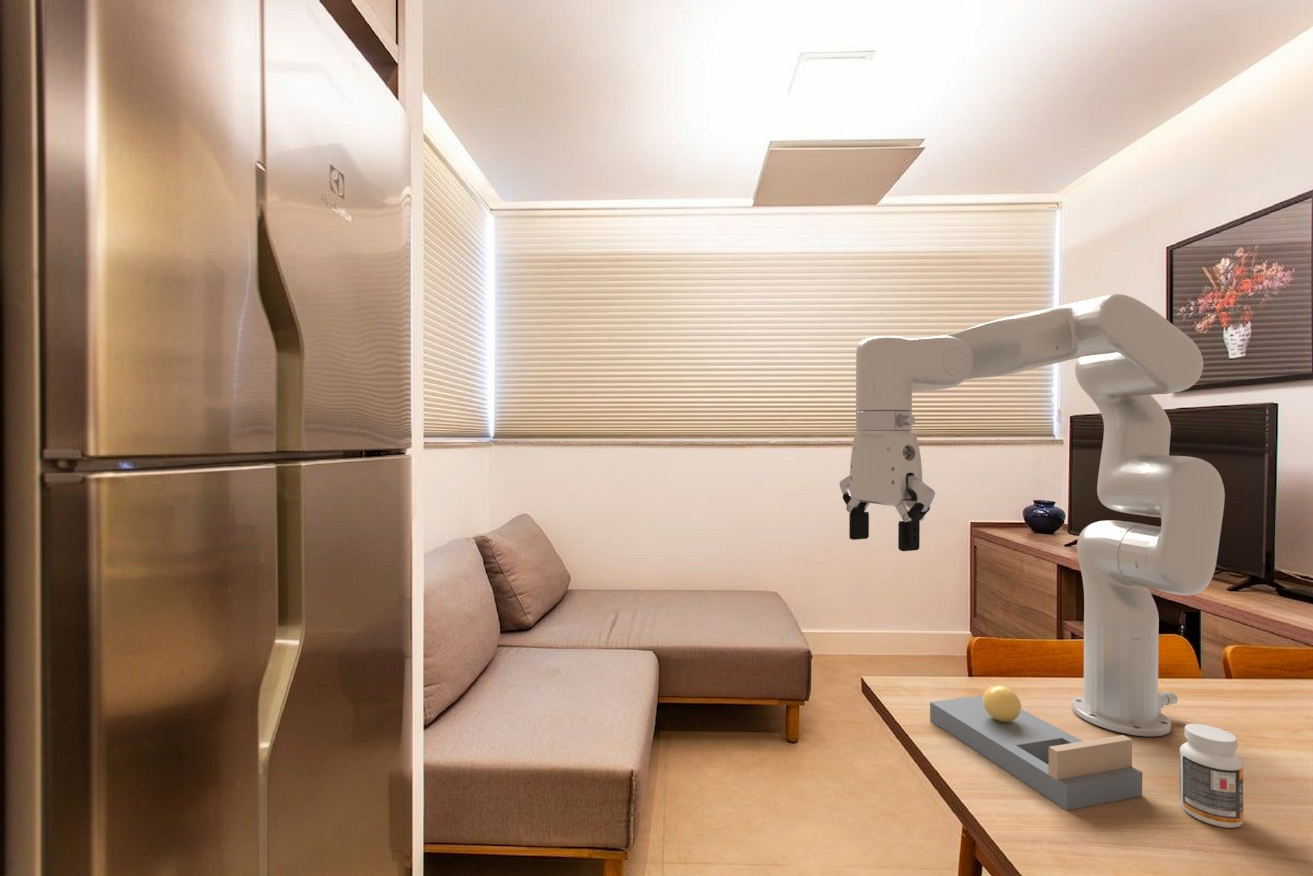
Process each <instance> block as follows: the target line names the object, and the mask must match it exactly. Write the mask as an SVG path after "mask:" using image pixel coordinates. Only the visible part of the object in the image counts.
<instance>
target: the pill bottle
mask: <svg viewBox="0 0 1313 876" xmlns="http://www.w3.org/2000/svg"><path fill="white" fill-rule="evenodd" d="M1183 735H1184V737H1185V738H1186V742H1184V743H1182V744H1181V745H1180V748H1179V803H1180V806H1181V808H1182V809H1183V810H1184V811H1185V812H1186V813H1187V814H1189V815H1190V816H1191V817H1193V818H1195V819H1196V820H1198V821H1201V822H1203V823H1205V824H1206V823H1207V824H1208V825H1213V826H1217V827H1219V828H1220V827H1221V828H1226V829H1227V828H1231V829H1232V828H1239V827H1241V826H1242V825H1243V823H1244V764H1243V761H1242V759H1241V758H1240V757H1239V756H1238V754H1237V753H1235V752H1236V751H1237V750H1238V739H1237V738H1238V737H1236V736H1235V735H1234V734H1232V733H1231V732H1229V731H1226V730H1225V729H1222V728H1219V727H1216V726H1211V725H1208V724H1202V723H1188V724H1185V726H1184V734H1183Z"/></svg>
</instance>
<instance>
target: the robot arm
mask: <svg viewBox="0 0 1313 876" xmlns="http://www.w3.org/2000/svg"><path fill="white" fill-rule="evenodd" d="M855 354H856V357H855V359H856V360H855V366H856V367H855V368H856V369H855V371H856V372H855V434H854V436H853V440H852V447H851V454H850V463H849V464H850V465H849V466H850V467H849V468H850V469H849V475H848V476H846V477H845V478H843V479H842V480H840V482H839V488H840V490H841V493H842V500H843V501H844V503H845V505H846V507H845V508H846V511H847V512H848V513H849V523H848V524H849V527H848V528H849V529H848V532H849V533H848V534H849V535H848V536H849V539H850V540H852V541H855V540H866V539H868V538H869V537H870V532H869V531H870V514H869V513H870V511H866V510H867V508H868V507H869V505H870V504H876V505H881V506H890V507H895V509H896V511H897V512H898V514H899V516H900V518H901V520H899V521H898V529H897V531H898V536H897V539H898V542H897V545H898V547H897V548H898V550H899V551H901V552H912V551H918V550H920V536H921V535H920V532H921V531H920V528H921V527H920V522H922V521H924V520H925V516H926V514H927V513H928V512H929V511H930V510H931V504H932V503H933V500H934V498H935V496H936V491H935V490H934V489H933V488H931V487H930V486H929V485H927V483H924V482H923V469H922V468H923V467H922V457H921V450H920V446H919V440H918V438H917V434H913V425H915V423H916V418H915V416H914V415H913V412H912V411H913V393H916V392H924V391H927V392H929V391H930V392H931V391H938V390H946V389H951V388H954V387H957V386H959V385H960V384H962V383H964V381H966V380H972V379H983V378H984V379H986V378H994V377H1001V376H1007V375H1013V374H1019V373H1022V372H1027V371H1030V370H1034V369H1037V368H1042V367H1046V366H1051V365H1054V364H1059V363H1062V362H1067V361H1070V360H1075V359H1077V360H1076V363H1075V365H1074V367H1075V368H1074V373H1075V377H1076V380H1077V383H1078V384H1079V386H1080V387H1081V389H1082V390H1083V391H1084V392H1085V393H1086V395H1087V396H1089V398H1090V399H1091V400H1092V401H1093V403H1094V405H1095V406H1096V407H1097V409H1098V410H1099V413H1100V414H1101V417H1102V421H1103V439H1102V447H1101V454H1100V462H1099V469H1098V476H1097V487H1096V492H1097V497H1098V500H1099V501H1100V503H1101V504H1102V505H1103V506H1104V507H1106V508H1108V509H1110V510H1113V511H1116V512H1120V513H1124V514H1125V513H1126V514H1130V515H1140V516H1146V517H1152V518H1153V517H1154V518H1160V521H1161V525H1160V526H1157V525H1150V524H1146V523H1138V522H1132V521H1123V520H1112V519H1111V520H1110V519H1109V520H1106V519H1105V520H1099V521H1095V522H1092V523H1090V524H1088V525H1087V526H1086V527H1084V528H1083V529H1082V530H1081V532H1080V534H1079V535H1078V538H1077V541H1076V542H1077V543H1076V556H1077V559H1078V564H1079V569H1080V573H1081V578H1082V586H1083V598H1084V599H1083V604H1084V605H1083V607H1084V608H1083V609H1084V610H1083V612H1084V613H1083V695H1078V696H1077V697H1075V698H1073V699H1072V702H1071V704H1072V705H1071V706H1072V710H1073V712H1074V713H1075V714H1076V715H1077V716H1078V717H1080V718H1081V719H1083V720H1084V721H1085V722H1088V723H1091V724H1093V725H1095V726H1098V727H1101V728H1103V729H1106V730H1109V731H1113V732H1117V733H1120V734H1125V735H1131V736H1137V737H1139V736H1140V737H1154V738H1155V737H1162V736H1165V735H1167V734H1169V733H1170V732H1171V730H1172V723H1171V720H1170V719H1169V718H1168V717H1167V716H1166V715H1164V714H1163V713H1162V708H1163V707H1165V706H1169V705H1170V706H1171V705H1176V704H1177V703H1178V697H1177V695H1176V694H1175V693H1174V692H1172V691H1162V692H1159V628H1160V627H1159V626H1160V625H1159V622H1160V619H1159V611H1158V610H1159V609H1158V608H1157V605H1156V602H1155V600H1154V598H1153V595H1152V593H1151V592H1150V590H1155V591H1159V592H1163V593H1167V594H1171V595H1172V594H1173V595H1177V596H1193V595H1197V594H1199V593H1201V592H1203V591H1204V590H1205V589H1207V587H1208V586H1209V584H1210V583H1211V582H1212V578H1214V574H1215V570H1216V566H1217V560H1218V553H1219V545H1220V540H1221V539H1220V538H1221V533H1222V524H1223V518H1224V509H1225V500H1226V498H1225V496H1226V493H1225V486H1224V483H1223V480H1222V477H1221V474H1220V473H1219V471H1218V470H1217V469H1216V468H1215V467H1214V465H1212V464H1211V463H1210V462H1208V461H1206V460H1204V459H1201V458H1198V457H1193V456H1185V455H1183V456H1182V455H1170V446H1171V445H1170V444H1171V434H1172V433H1171V432H1172V426H1171V422H1170V419H1169V417H1168V415H1167V413H1166V411H1165V409H1164V408H1163V407H1162V405H1160V403H1159V402H1158V401H1157V400H1156V399H1155V397H1153V395H1168V394H1175V393H1179V392H1183V391H1186V390H1188V389H1190V388H1191V387H1192V386H1194V385H1195V384H1196V383H1197V382H1198V381H1199V379H1201V376H1202V374H1203V370H1204V359H1203V356H1202V351H1201V350H1200V348H1199V347H1198V346H1197V344H1196V343H1195V341H1194V340H1193V339H1192V338H1190V336H1188V335H1187V334H1186V333H1185V332H1183V331H1182V330H1181V329H1180V328H1179V327H1177V326H1176V325H1174V324H1173V323H1171V322H1170V321H1169V320H1168V319H1166V318H1165V317H1164V316H1162V314H1160V313H1159V312H1157V311H1156V310H1155V309H1153V308H1151V307H1150V306H1148V305H1147V304H1145V303H1144V302H1142V301H1140V300H1139V299H1136V298H1134V297H1132V296H1129V295H1126V294H1121V293H1116V294H1115V293H1114V294H1108V295H1102V296H1099V297H1095V298H1091V299H1087V300H1082V301H1078V302H1073V303H1067V304H1064V305H1059V306H1055V307H1051V308H1045V309H1041V310H1036V311H1033V312H1032V311H1031V312H1026V313H1023V314H1017V315H1013V316H1008V317H1004V318H1001V319H996V320H993V321H989V322H985V323H982V324H979V325H976V326H973V327H970V328H966V329H963V330H960V331H955V332H952V333H948V334H944V335H940V336H939V335H937V336H929V337H917V338H916V337H915V338H907V337H906V338H905V337H904V336H897V335H896V336H895V335H894V336H893V335H890V336H889V335H887V336H886V335H884V336H883V335H881V336H872V337H868V338H866V339H863V340H861V341H860V342H859V343H858V344H857V347H856V353H855ZM1149 589H1150V590H1149Z"/></svg>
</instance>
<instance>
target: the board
mask: <svg viewBox="0 0 1313 876" xmlns="http://www.w3.org/2000/svg"><path fill="white" fill-rule="evenodd" d="M983 695H984V694H983ZM983 695H976V696H975V695H974V696H968V697H960V698H952V699H944V700H936V701H930V702H929V706H930V707H929V720H930V722H931V723H933V724H934V725H935V726H937V727H939V728H941V730H944V731H945V732H947V733H948V734H950V735H951V736H952V737H954V738H956V739H957V740H959V741H960V742H962V743H963V744H965V745H966V746H968V747H969V748H970V749H972V750H974V751H976V752H977V753H978V754H979V755H981V756H983V757H985V758H986V759H987V760H989V761H990V762H992V763H993V764H995V765H997V766H998V767H999V768H1001V769H1003V770H1004V771H1006V772H1007V773H1009V774H1010V775H1011V776H1012V777H1013V776H1014V777H1015V778H1017V779H1018V780H1019V781H1021V782H1022V783H1024V784H1026V785H1027V786H1028V787H1030V788H1032V789H1033V790H1034V791H1036V792H1037V793H1039V794H1041V795H1042V796H1044V797H1045V798H1047V799H1048V800H1050V801H1051V802H1053V803H1054V804H1056V805H1057V806H1059V807H1060V808H1062V809H1063V810H1065V811H1070V810H1076V809H1081V808H1085V807H1086V808H1087V807H1091V806H1096V805H1101V804H1107V803H1112V802H1118V801H1122V800H1128V799H1132V798H1133V799H1134V798H1137V797H1142V796H1143V771H1141V770H1139V769H1137V768H1135V767H1133V739H1132V738H1131V737H1128V736H1126V735H1124V734H1121V735H1113V736H1108V737H1102V738H1101V737H1100V738H1096V739H1089V740H1084V741H1083V740H1081V739H1080V738H1077V737H1076V736H1074V735H1072V734H1070V733H1068V732H1066V731H1064V730H1063V729H1061V728H1058V727H1056V726H1054V725H1053V724H1051V723H1049V722H1047V721H1045V720H1043V719H1041V718H1040V717H1037V716H1035V715H1034V714H1032V713H1030V712H1028V711H1027V710H1024V709H1022V708H1021V712H1020V714H1019V716H1018V717H1017V718H1016V719H1015V720H1013V721H1010V722H1001V721H998V720H995V719H994V718H992V717H991V716H990V715H989V714H988V713H987V712H986V710H985V708H984V706H983ZM1048 761H1049V762H1048Z"/></svg>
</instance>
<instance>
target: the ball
mask: <svg viewBox="0 0 1313 876" xmlns="http://www.w3.org/2000/svg"><path fill="white" fill-rule="evenodd" d="M983 706H984V708H985V710H986V712H987V713H988V714H989V715H990V716H991V717H992V718H994V719H995V720H998V721H1001V722H1010V721H1013V720H1015V719H1016V718H1017V717H1018V716H1019V714H1020V712H1021V709H1022V704H1021V700H1020V698H1019V696H1018V695H1017V693H1016V692H1015V691H1013V690H1012V689H1011V688H1009V687H1007V686H1005V685H993V686H990V687H989V688H987V689H986V690H985V691H984V693H983Z"/></svg>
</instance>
